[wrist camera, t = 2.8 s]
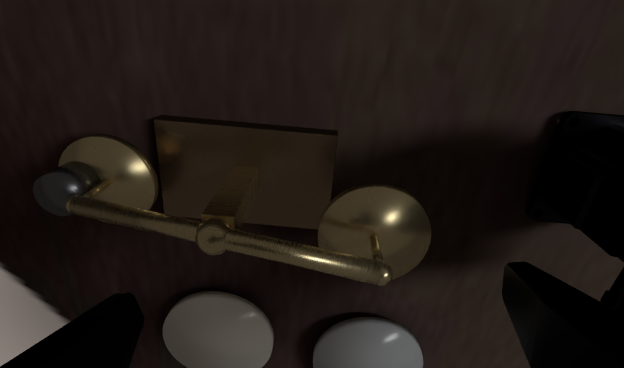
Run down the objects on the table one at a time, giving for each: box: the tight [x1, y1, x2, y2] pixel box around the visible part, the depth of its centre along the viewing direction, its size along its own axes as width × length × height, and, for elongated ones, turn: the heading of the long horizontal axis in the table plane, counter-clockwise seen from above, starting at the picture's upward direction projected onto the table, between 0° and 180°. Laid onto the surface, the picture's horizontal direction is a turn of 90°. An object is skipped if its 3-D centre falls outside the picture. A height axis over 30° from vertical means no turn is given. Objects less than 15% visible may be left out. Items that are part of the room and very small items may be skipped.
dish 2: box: [313, 317, 423, 368], centre depth 27 cm, size 8×8×1 cm
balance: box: [33, 115, 431, 285], centre depth 17 cm, size 19×6×9 cm, turn 86°
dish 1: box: [163, 291, 274, 368], centre depth 26 cm, size 8×8×1 cm
